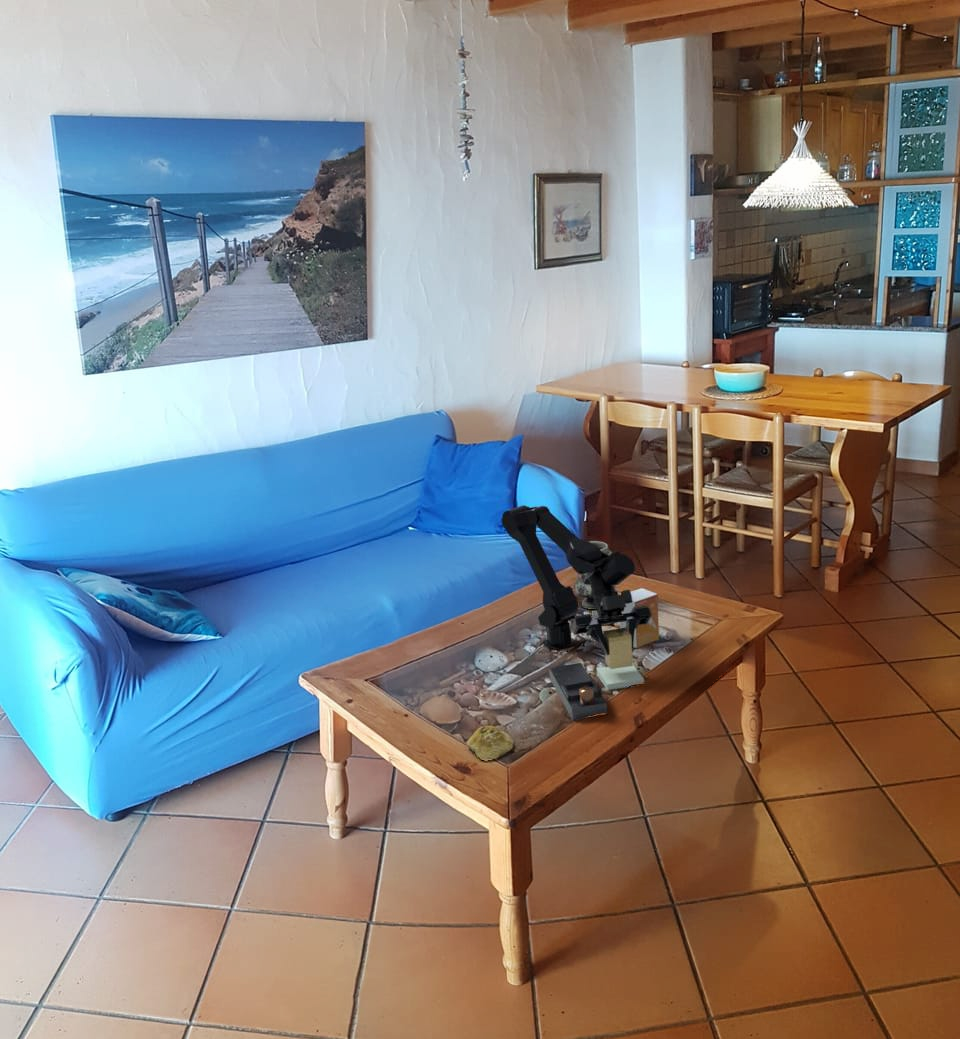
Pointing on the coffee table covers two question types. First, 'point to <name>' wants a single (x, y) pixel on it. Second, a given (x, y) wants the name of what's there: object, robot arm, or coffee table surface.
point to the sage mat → (619, 677)
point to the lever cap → (618, 648)
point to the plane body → (577, 691)
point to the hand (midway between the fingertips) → (620, 652)
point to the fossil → (490, 742)
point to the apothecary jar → (579, 583)
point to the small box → (650, 629)
